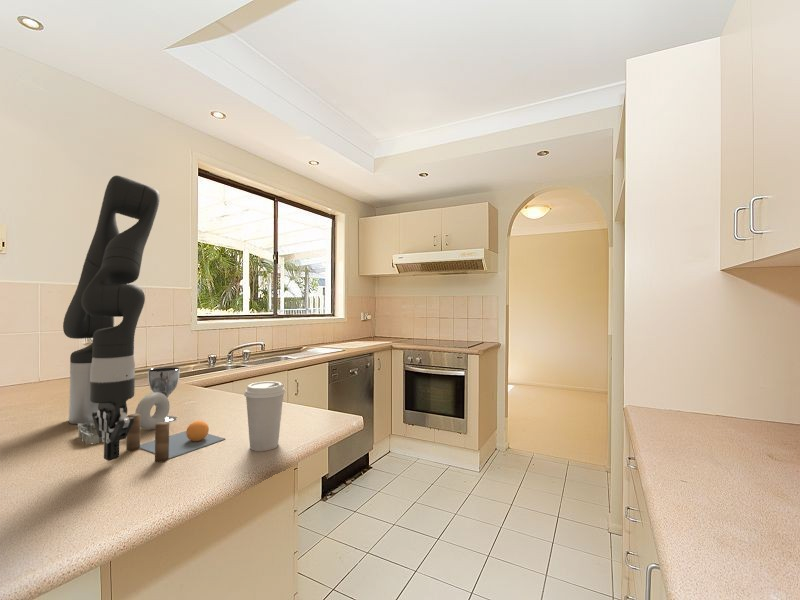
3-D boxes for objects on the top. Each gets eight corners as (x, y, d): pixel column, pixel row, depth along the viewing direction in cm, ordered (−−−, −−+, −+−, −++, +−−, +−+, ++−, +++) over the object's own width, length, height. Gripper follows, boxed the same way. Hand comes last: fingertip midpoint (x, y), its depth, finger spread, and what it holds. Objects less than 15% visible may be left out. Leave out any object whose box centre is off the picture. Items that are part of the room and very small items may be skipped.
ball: (184, 419, 93) (204, 416, 97) (180, 439, 93) (200, 435, 97) (194, 425, 90) (214, 422, 94) (190, 445, 90) (210, 442, 94)
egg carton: (121, 439, 94) (122, 423, 94) (83, 448, 89) (83, 431, 89) (112, 429, 102) (112, 414, 102) (76, 436, 96) (76, 421, 96)
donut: (142, 435, 97) (143, 397, 97) (131, 434, 97) (131, 396, 97) (172, 423, 106) (173, 388, 107) (162, 422, 107) (162, 388, 107)
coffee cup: (260, 457, 84) (261, 391, 84) (234, 448, 89) (235, 385, 89) (292, 444, 92) (293, 383, 92) (267, 436, 97) (268, 379, 97)
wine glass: (140, 421, 108) (141, 370, 108) (166, 414, 115) (167, 366, 115) (159, 425, 105) (160, 372, 105) (184, 417, 112) (185, 367, 112)
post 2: (152, 460, 81) (152, 424, 81) (164, 456, 84) (165, 421, 84) (158, 463, 80) (159, 426, 80) (171, 459, 82) (171, 423, 82)
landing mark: (135, 446, 89) (135, 445, 89) (192, 429, 101) (192, 429, 101) (168, 459, 82) (168, 458, 82) (225, 439, 95) (225, 438, 95)
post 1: (124, 449, 87) (124, 415, 87) (136, 446, 90) (136, 412, 90) (129, 451, 86) (130, 417, 86) (142, 448, 88) (142, 414, 88)
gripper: (149, 377, 79) (147, 459, 79) (117, 371, 85) (116, 446, 85) (107, 384, 72) (105, 472, 72) (77, 376, 79) (75, 458, 79)
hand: (111, 458), depth 79 cm, fingers closed
